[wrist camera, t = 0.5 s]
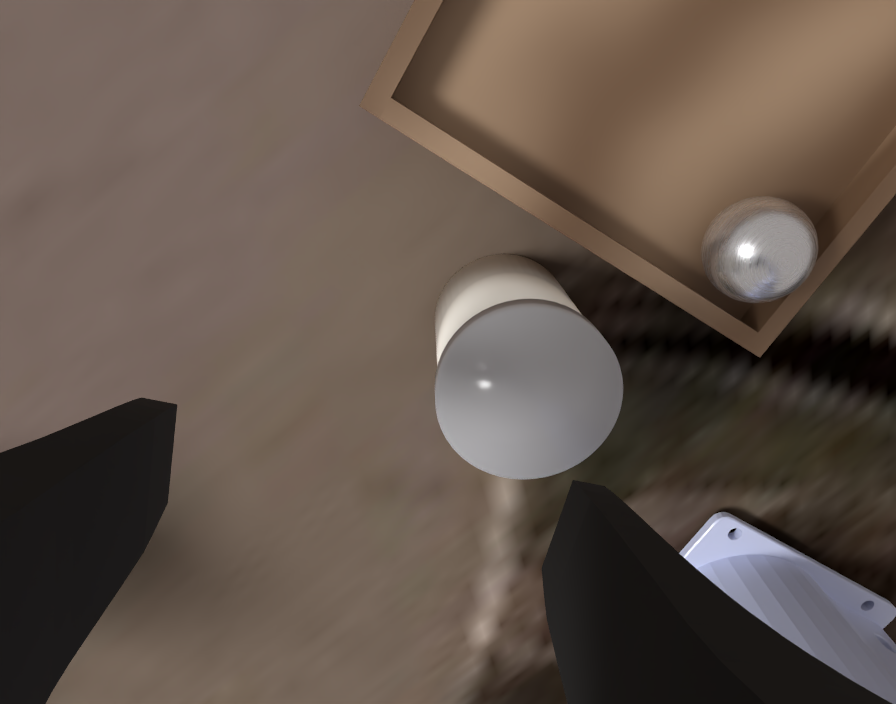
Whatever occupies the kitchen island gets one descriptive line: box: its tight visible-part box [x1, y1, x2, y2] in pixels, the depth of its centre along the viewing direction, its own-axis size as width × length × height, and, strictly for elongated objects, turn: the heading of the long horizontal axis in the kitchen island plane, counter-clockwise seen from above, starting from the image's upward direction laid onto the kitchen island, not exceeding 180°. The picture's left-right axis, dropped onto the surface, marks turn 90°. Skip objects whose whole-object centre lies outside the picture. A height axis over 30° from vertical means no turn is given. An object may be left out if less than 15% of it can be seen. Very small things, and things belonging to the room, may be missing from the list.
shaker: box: [435, 254, 623, 479], centre depth 19 cm, size 5×5×6 cm
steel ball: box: [701, 196, 818, 303], centre depth 18 cm, size 3×3×3 cm
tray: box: [359, 0, 896, 357], centre depth 18 cm, size 14×11×2 cm
